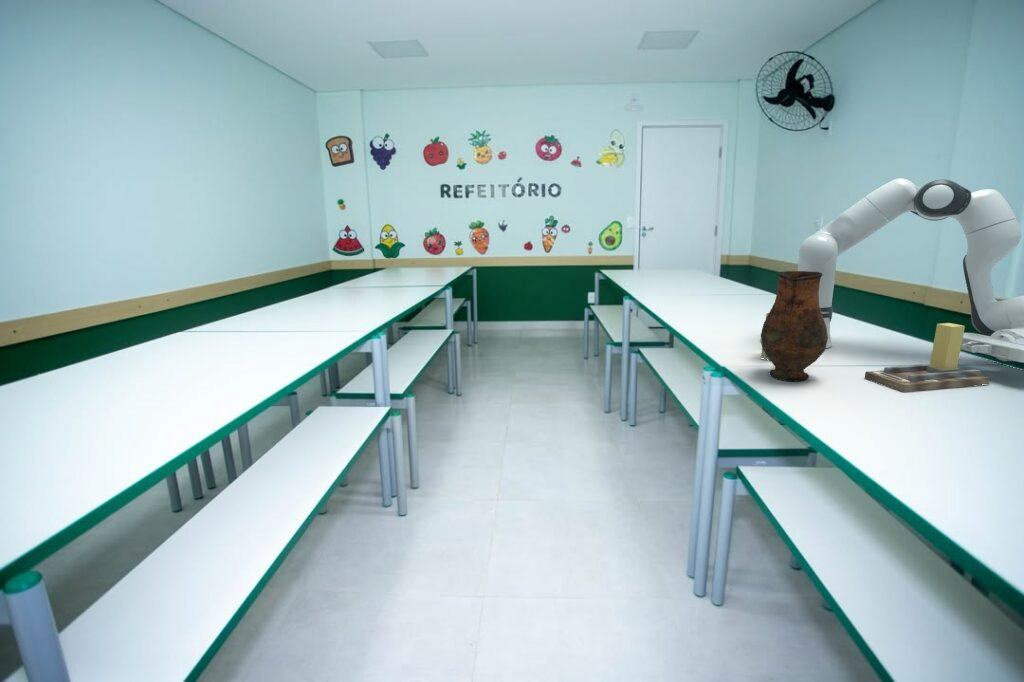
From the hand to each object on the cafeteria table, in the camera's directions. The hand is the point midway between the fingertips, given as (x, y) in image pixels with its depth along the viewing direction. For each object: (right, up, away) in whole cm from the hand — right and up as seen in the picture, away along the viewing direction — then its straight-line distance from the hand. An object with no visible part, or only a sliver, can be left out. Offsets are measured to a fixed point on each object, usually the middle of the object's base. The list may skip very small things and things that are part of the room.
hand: (967, 348), depth 135 cm
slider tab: (-6, -7, +1) cm, 9 cm away
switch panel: (-11, -9, +1) cm, 14 cm away
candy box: (-39, -4, +27) cm, 48 cm away
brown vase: (-43, -8, +10) cm, 45 cm away
